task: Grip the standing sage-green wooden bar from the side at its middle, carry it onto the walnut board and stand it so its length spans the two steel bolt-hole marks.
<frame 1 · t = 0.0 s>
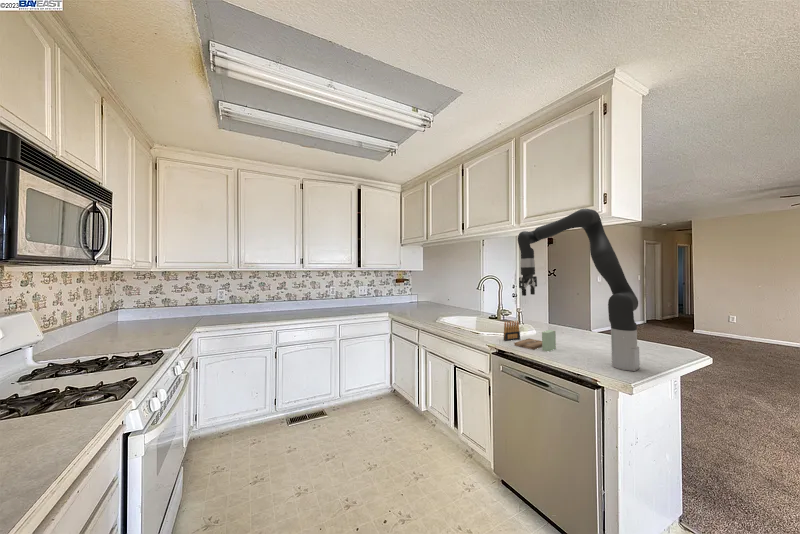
hand: (528, 295, 168), 29 cm above the counter, tool pointing down, fingers open, 8 cm apart
bolt board: (531, 345, 171), on the counter
green bar: (549, 349, 161), on the counter
ammunition clip: (511, 340, 183), on the counter
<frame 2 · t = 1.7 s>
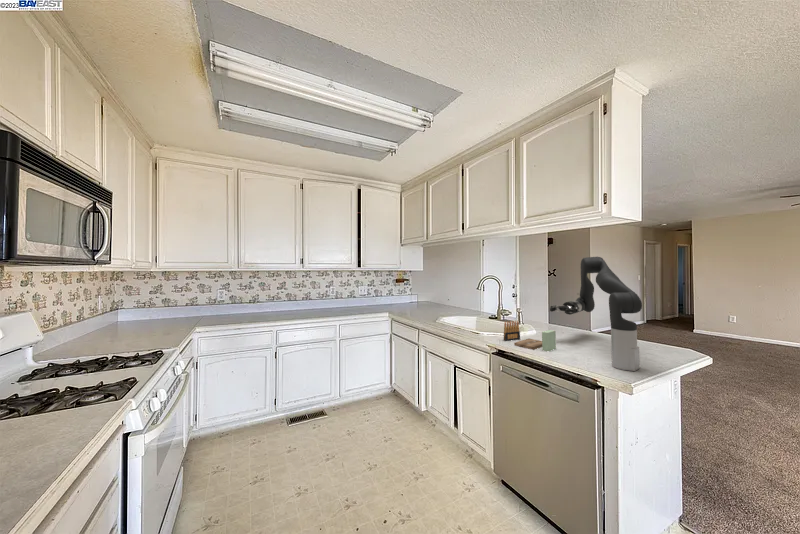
hand: (558, 310, 167), 20 cm above the counter, tool horizontal, fingers open, 8 cm apart
nothing on the counter moved.
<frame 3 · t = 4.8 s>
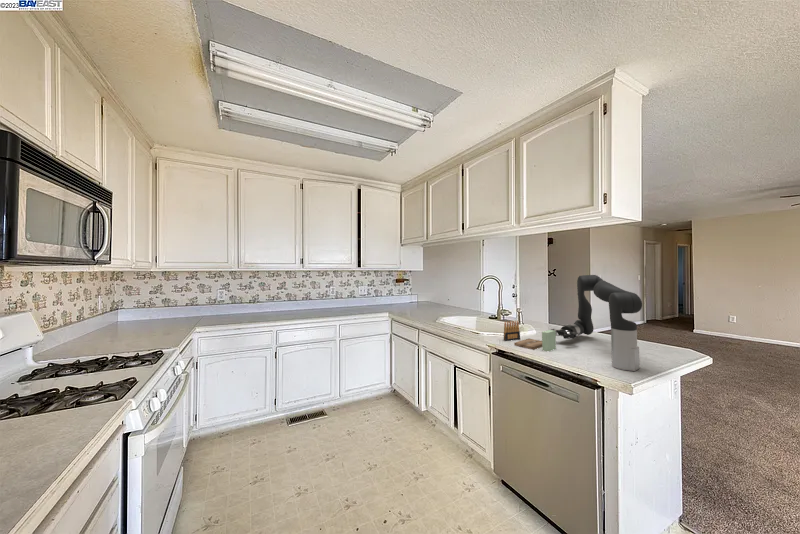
hand: (556, 335, 166), 6 cm above the counter, tool horizontal, fingers open, 8 cm apart
nothing on the counter moved.
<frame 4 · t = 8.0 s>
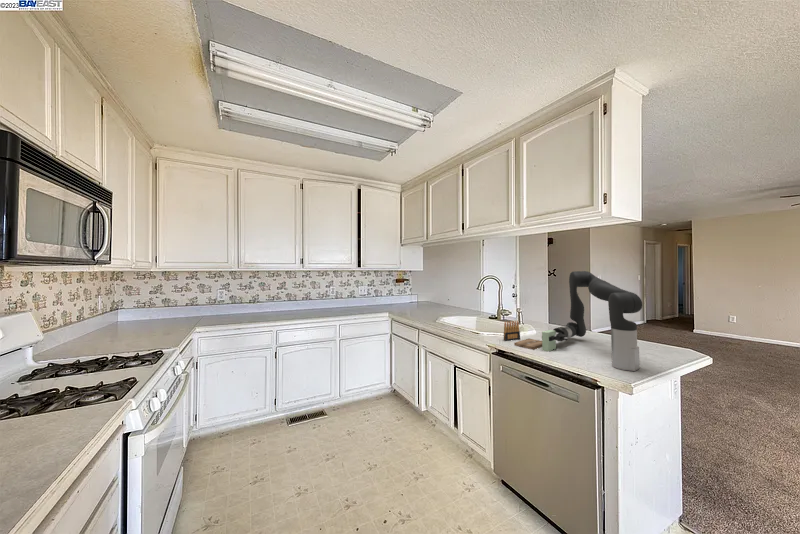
hand: (546, 338, 159), 7 cm above the counter, tool horizontal, fingers closed on green bar, 3 cm apart
green bar: (549, 349, 161), on the counter, touching gripper
everything else where it was.
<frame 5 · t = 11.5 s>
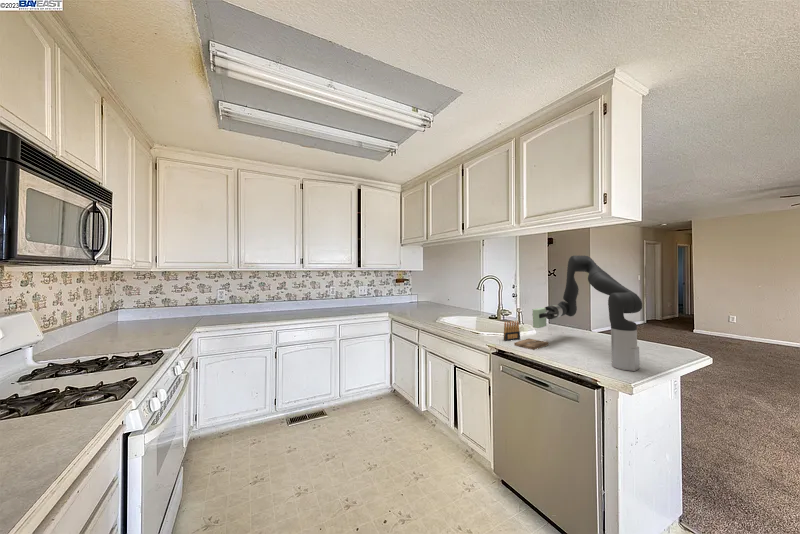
hand: (536, 315, 165), 18 cm above the counter, tool horizontal, fingers closed on green bar, 3 cm apart
green bar: (539, 326, 166), point 11 cm above the counter, touching gripper
everything else where it was.
when the fingers open (9 cm above the counter, at t = 14.8 s): green bar moves 1 cm, resting on bolt board.
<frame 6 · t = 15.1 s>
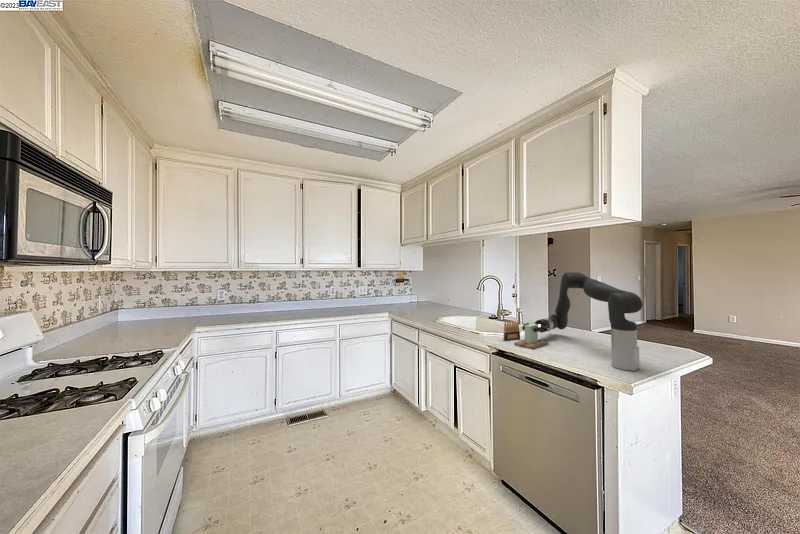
hand: (528, 329, 169), 10 cm above the counter, tool horizontal, fingers open, 6 cm apart
green bar: (531, 342, 171), point 2 cm above the counter, touching bolt board
everything else where it was.
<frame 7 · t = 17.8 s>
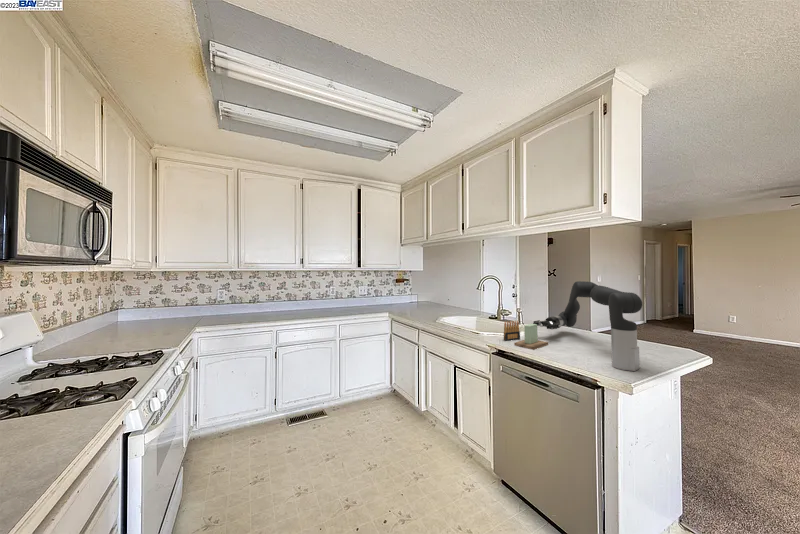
hand: (540, 326, 176), 10 cm above the counter, tool horizontal, fingers open, 8 cm apart
nothing on the counter moved.
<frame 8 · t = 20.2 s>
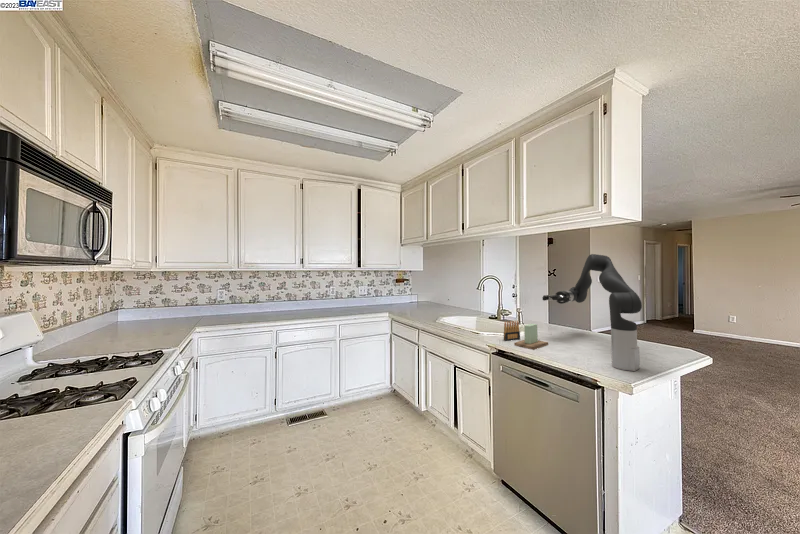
hand: (550, 299, 172), 26 cm above the counter, tool horizontal, fingers open, 8 cm apart
nothing on the counter moved.
at the end: green bar 0.2 cm from the target spot, point 1.7 cm above the counter; green bar tilted 0°; the gripper is holding nothing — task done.
